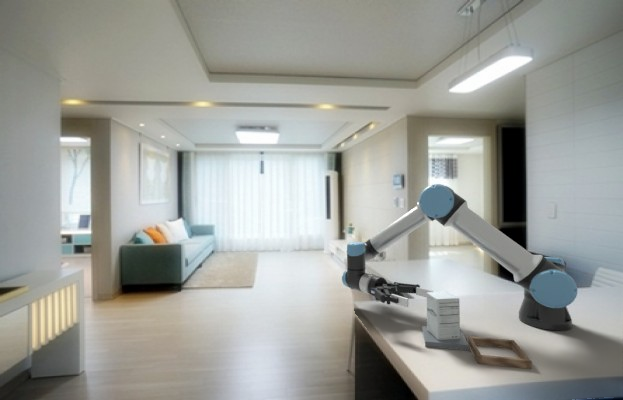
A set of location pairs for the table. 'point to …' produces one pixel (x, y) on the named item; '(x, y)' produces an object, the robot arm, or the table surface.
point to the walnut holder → (498, 360)
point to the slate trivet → (444, 341)
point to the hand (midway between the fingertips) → (420, 298)
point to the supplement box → (443, 315)
